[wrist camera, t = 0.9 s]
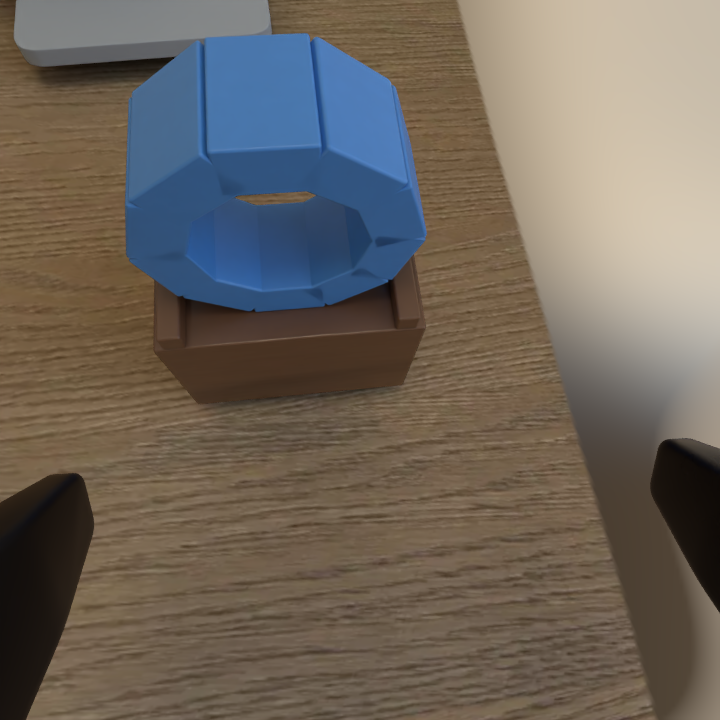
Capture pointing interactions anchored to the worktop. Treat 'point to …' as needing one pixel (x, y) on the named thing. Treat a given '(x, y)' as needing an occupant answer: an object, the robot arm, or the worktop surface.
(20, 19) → the shower valve
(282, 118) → the tape roll
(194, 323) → the tape cradle
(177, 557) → the worktop surface
